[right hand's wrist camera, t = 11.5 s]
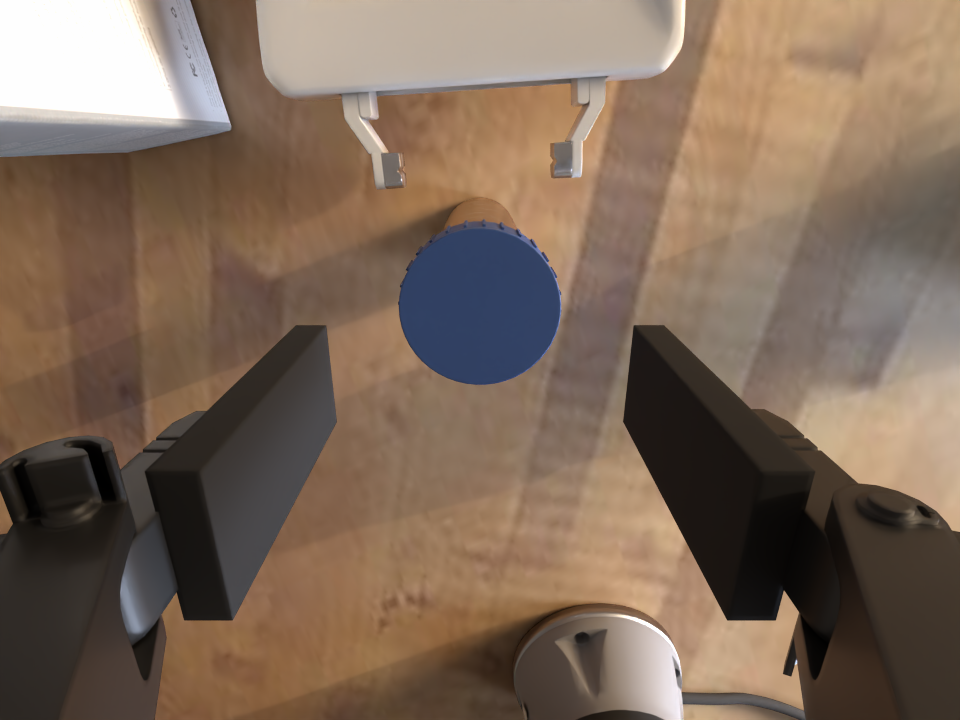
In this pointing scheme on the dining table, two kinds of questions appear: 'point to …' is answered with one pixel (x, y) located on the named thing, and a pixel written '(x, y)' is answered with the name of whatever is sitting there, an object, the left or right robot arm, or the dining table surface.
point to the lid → (480, 303)
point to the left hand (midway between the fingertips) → (478, 183)
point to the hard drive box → (103, 77)
